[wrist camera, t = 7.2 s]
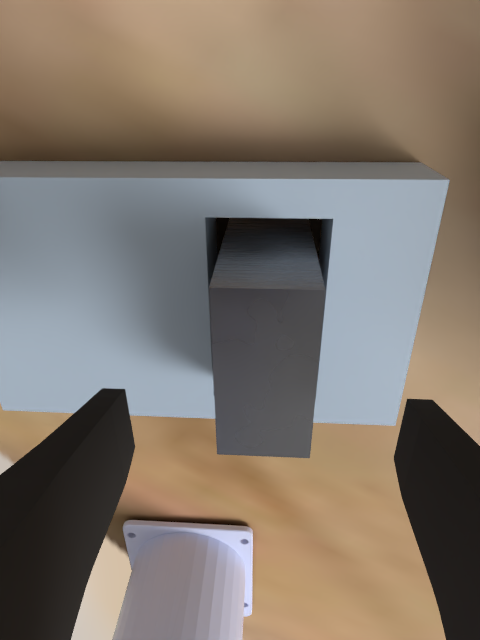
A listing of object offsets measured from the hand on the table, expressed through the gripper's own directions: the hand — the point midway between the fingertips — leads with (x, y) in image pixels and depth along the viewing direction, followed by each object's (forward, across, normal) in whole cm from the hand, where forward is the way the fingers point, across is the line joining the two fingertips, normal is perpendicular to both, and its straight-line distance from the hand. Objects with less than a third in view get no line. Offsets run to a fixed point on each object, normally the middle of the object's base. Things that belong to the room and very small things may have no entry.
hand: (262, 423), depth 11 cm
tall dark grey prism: (+9, 0, 0) cm, 9 cm away
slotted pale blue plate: (+9, +3, 0) cm, 9 cm away
